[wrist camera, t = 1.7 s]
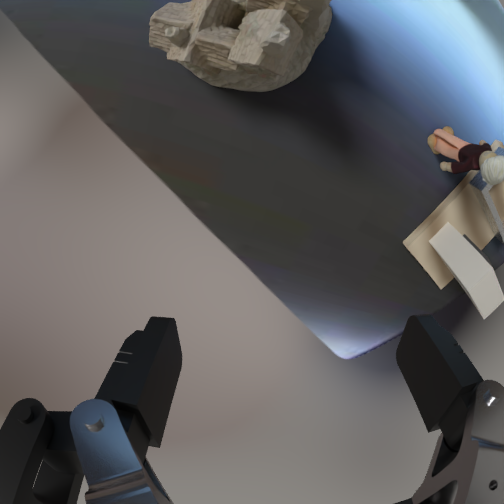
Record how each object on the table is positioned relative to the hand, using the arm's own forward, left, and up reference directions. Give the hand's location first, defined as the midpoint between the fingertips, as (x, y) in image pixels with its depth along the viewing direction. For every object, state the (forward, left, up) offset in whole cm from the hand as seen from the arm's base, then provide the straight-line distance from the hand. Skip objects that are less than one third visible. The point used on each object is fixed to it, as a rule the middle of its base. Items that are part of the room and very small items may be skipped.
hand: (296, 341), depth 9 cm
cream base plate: (-14, +26, -25) cm, 39 cm away
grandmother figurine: (-16, +13, -26) cm, 33 cm away
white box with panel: (-9, +26, -24) cm, 36 cm away
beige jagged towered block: (-11, -12, -26) cm, 30 cm away
